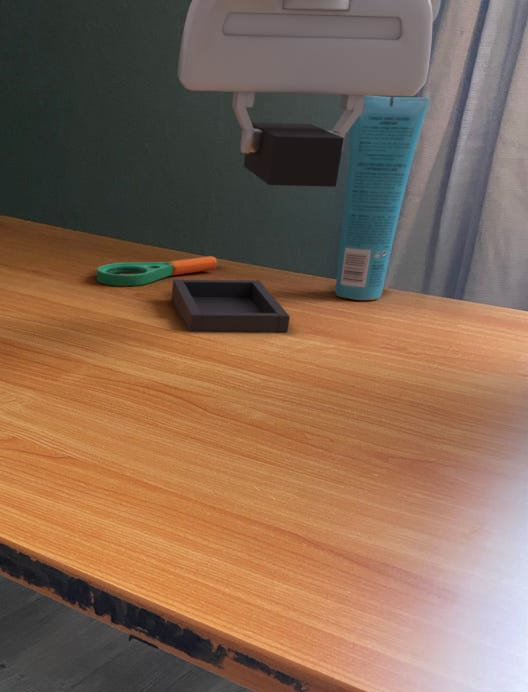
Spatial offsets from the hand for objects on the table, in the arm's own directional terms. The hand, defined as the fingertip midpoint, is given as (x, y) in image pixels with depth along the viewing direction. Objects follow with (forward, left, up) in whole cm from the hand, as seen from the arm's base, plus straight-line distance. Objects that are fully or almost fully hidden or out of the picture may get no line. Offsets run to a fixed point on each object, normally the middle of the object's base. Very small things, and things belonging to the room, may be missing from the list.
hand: (289, 154), depth 85 cm
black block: (0, 0, -2) cm, 2 cm away
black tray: (+3, -7, -16) cm, 17 cm away
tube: (-13, -17, -16) cm, 27 cm away
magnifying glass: (+8, -25, -16) cm, 31 cm away
